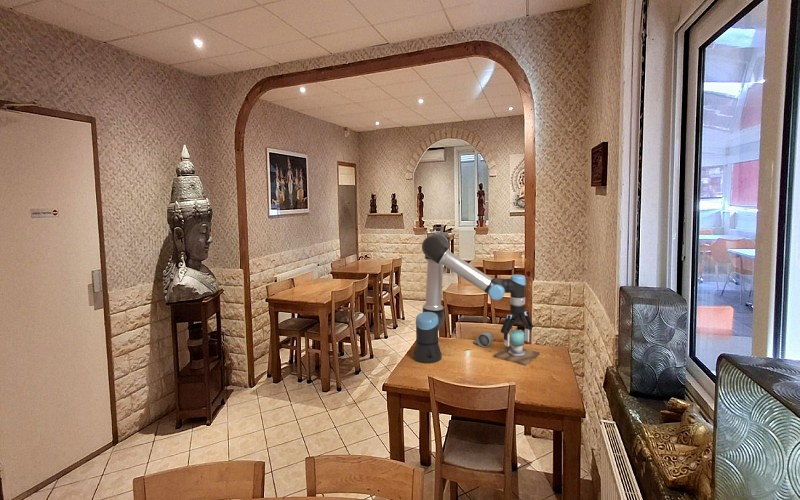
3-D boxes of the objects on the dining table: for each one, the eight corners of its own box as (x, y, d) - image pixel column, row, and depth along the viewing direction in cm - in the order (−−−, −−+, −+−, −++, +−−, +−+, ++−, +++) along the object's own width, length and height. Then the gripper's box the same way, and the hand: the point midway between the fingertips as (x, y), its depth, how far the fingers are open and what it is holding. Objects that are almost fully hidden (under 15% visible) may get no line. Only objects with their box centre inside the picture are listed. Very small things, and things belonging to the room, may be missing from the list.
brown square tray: (493, 357, 220) (493, 344, 219) (508, 347, 234) (509, 335, 233) (525, 365, 209) (525, 352, 208) (539, 354, 222) (540, 342, 221)
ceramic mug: (494, 343, 239) (494, 330, 238) (489, 348, 232) (489, 335, 231) (476, 341, 245) (476, 328, 244) (471, 345, 238) (471, 332, 237)
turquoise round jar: (517, 346, 215) (517, 334, 214) (507, 342, 221) (507, 330, 220) (527, 343, 219) (527, 331, 218) (516, 339, 225) (516, 327, 224)
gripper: (503, 309, 209) (503, 349, 212) (540, 302, 219) (539, 341, 222) (494, 305, 215) (493, 345, 218) (530, 299, 226) (529, 337, 229)
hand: (516, 343), depth 220 cm, fingers open, 13 cm apart
